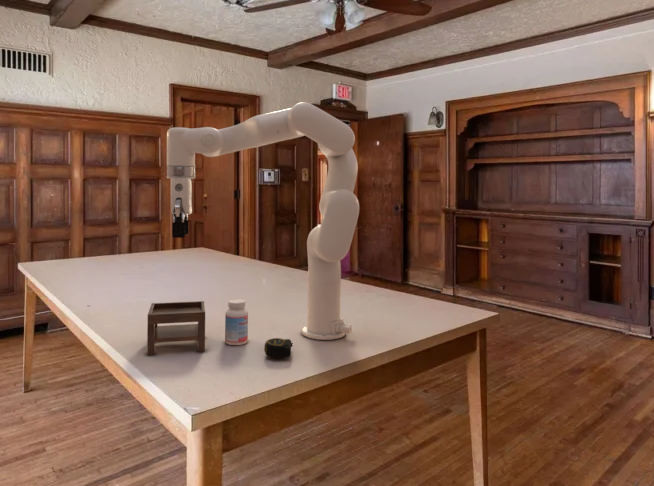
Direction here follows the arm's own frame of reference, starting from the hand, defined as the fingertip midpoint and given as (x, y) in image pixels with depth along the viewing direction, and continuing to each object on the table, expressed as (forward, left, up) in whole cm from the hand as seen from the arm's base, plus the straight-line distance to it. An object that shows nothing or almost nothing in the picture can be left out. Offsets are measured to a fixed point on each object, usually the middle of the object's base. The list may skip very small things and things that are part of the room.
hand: (180, 235), depth 127 cm
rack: (-3, +4, -29) cm, 29 cm away
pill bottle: (-14, -7, -29) cm, 33 cm away
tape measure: (-30, -5, -29) cm, 42 cm away
